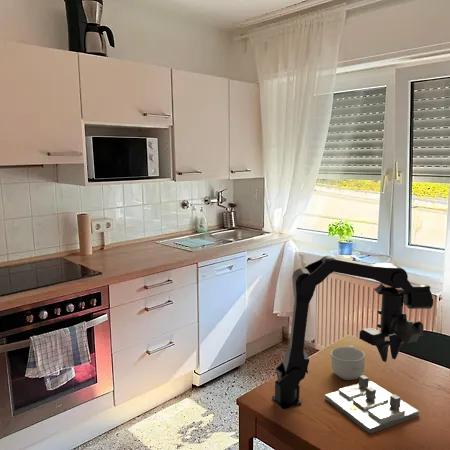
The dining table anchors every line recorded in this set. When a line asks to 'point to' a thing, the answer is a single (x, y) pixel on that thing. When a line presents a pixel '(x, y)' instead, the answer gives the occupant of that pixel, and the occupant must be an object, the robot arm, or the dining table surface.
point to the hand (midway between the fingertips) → (389, 360)
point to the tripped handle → (371, 393)
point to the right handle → (395, 401)
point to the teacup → (348, 362)
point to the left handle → (363, 381)
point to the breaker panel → (370, 407)
